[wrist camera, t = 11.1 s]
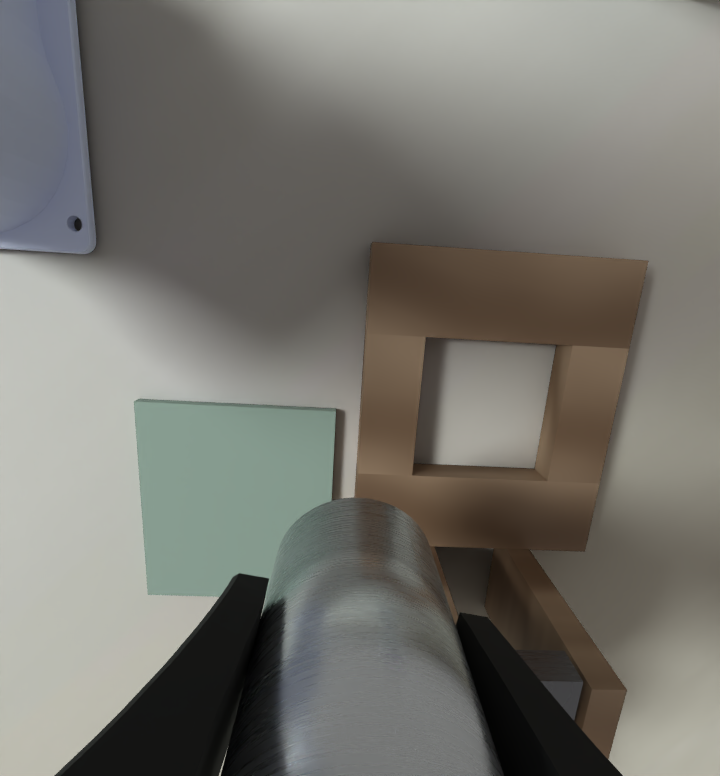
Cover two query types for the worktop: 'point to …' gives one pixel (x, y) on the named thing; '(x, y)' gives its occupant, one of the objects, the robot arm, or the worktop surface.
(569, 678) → the dark grey long bar
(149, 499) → the sage rubber pad
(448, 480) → the walnut socket block
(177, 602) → the worktop surface
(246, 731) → the steel peg
